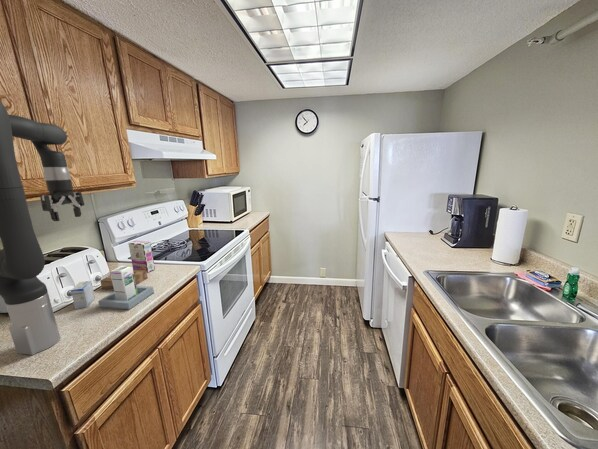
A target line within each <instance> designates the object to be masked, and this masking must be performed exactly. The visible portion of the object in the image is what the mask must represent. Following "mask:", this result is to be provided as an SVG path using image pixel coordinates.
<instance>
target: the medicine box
mask: <svg viewBox="0 0 598 449" xmlns="http://www.w3.org/2000/svg"><path fill="white" fill-rule="evenodd" d="M70 292H71V296H72V297H71V298H72V302H73V306H74V309H75V310H78V309H80V310H81V309H85V308H88V307H89V306H90V305H91V304H92V303H93V301H94V300H95V298H96V297H95V292H94V286H93V282H92V280H88V281H86V280H85V281H80V282H78V283H77V284H76V285H75V286H74V287H73V288H72V289H71V290H70Z"/></svg>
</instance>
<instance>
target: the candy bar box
mask: <svg viewBox="0 0 598 449" xmlns="http://www.w3.org/2000/svg"><path fill="white" fill-rule="evenodd" d="M151 243H152V242H151V241H145V240H144V241H143V240H134V241H131V242H128V248H129V254H130V260H131V266H132V268H133V269H134V270H146V271H147V274H148V273H150V272H153V271H155V270H156V267H155V263H154V262H155V261H154V256H153V249H152V244H151Z"/></svg>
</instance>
